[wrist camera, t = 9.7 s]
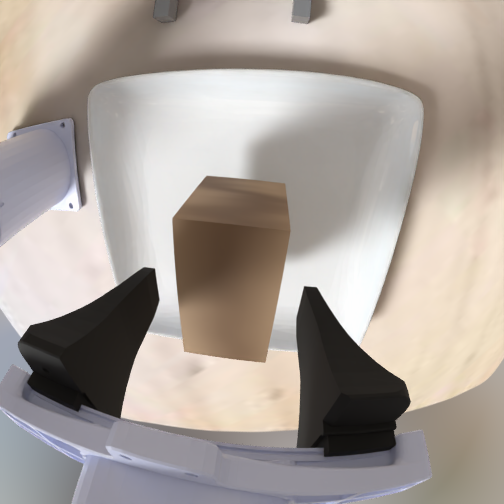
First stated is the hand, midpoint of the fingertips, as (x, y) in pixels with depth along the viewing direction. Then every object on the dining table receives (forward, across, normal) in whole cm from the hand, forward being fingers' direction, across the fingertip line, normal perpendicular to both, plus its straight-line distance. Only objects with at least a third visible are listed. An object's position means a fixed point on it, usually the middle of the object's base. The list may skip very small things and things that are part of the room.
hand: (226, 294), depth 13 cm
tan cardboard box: (+5, 0, 0) cm, 5 cm away
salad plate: (+9, 0, 0) cm, 9 cm away
